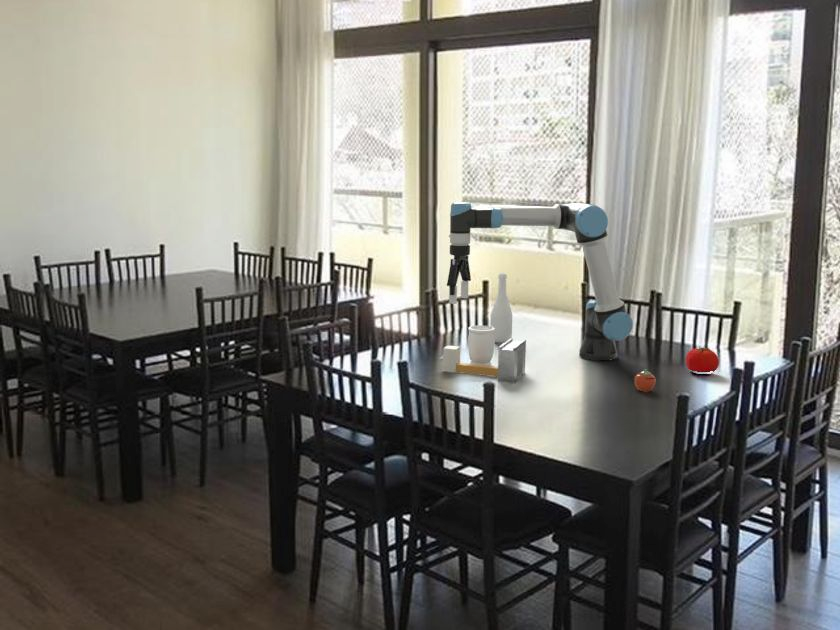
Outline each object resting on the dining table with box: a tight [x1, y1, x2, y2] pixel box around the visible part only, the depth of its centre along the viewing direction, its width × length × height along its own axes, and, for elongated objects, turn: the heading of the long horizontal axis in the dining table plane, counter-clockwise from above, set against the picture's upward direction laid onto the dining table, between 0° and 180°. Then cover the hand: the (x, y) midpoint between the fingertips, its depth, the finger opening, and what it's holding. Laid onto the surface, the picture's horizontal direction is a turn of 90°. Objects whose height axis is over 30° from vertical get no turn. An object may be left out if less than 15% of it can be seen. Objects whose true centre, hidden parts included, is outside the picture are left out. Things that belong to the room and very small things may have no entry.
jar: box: [467, 325, 496, 366], centre depth 339 cm, size 11×10×15 cm
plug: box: [438, 345, 498, 378], centre depth 329 cm, size 24×5×9 cm, turn 69°
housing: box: [497, 337, 527, 384], centre depth 323 cm, size 6×16×13 cm, turn 159°
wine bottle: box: [489, 272, 513, 344], centre depth 381 cm, size 10×10×30 cm
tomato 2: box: [633, 368, 657, 392], centre depth 307 cm, size 7×7×8 cm
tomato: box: [685, 345, 720, 372], centre depth 331 cm, size 11×13×10 cm
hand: (458, 300), depth 328 cm, fingers open, 13 cm apart
